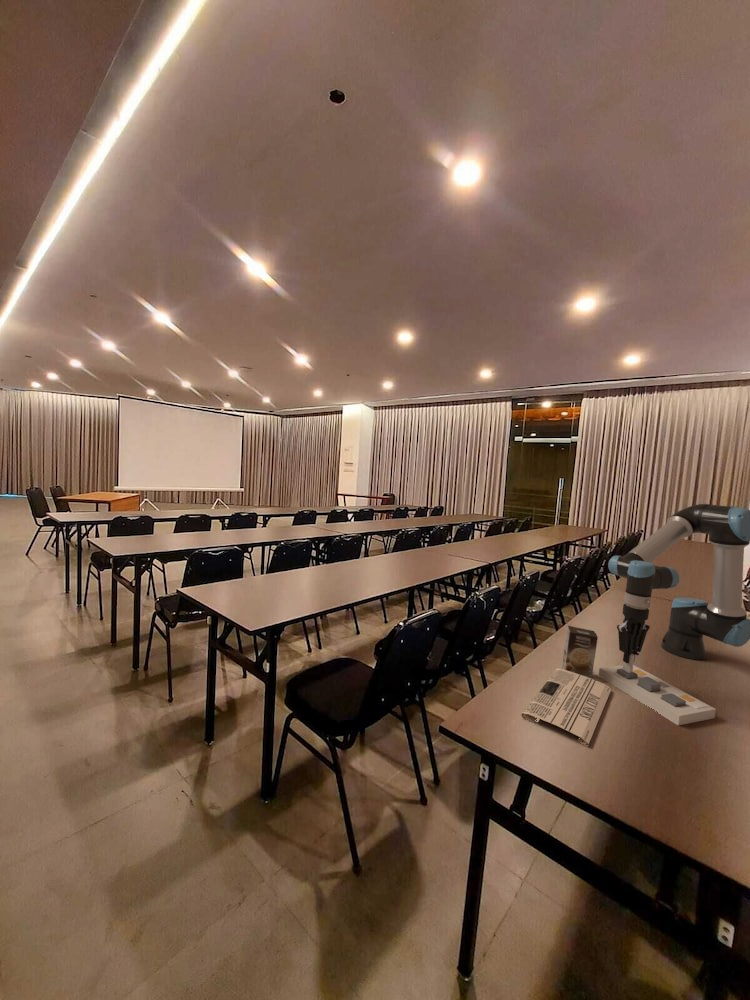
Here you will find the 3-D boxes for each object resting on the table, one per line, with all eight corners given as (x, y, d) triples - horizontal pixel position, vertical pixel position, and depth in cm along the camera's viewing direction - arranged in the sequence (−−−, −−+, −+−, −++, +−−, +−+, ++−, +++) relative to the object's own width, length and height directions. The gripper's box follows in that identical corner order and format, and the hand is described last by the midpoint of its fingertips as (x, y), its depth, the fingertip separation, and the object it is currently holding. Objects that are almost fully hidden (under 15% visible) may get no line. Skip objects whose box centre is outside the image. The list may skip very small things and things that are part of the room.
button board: (631, 671, 150) (632, 662, 150) (714, 718, 124) (716, 707, 123) (598, 675, 145) (599, 667, 145) (678, 725, 119) (679, 714, 118)
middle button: (646, 686, 136) (648, 676, 136) (659, 693, 132) (660, 683, 132) (637, 687, 135) (638, 678, 135) (649, 694, 131) (651, 685, 130)
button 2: (670, 702, 129) (671, 693, 129) (684, 711, 125) (686, 701, 124) (660, 704, 127) (661, 694, 127) (674, 713, 123) (676, 702, 123)
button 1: (625, 676, 144) (626, 667, 144) (636, 683, 140) (637, 674, 140) (615, 677, 143) (617, 669, 142) (627, 684, 138) (628, 675, 138)
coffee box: (563, 674, 144) (569, 631, 143) (561, 666, 150) (566, 625, 149) (592, 681, 141) (598, 637, 140) (589, 672, 147) (594, 630, 146)
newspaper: (555, 673, 146) (556, 666, 145) (616, 695, 134) (617, 687, 133) (520, 719, 117) (521, 710, 117) (595, 752, 105) (596, 742, 105)
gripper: (632, 610, 133) (623, 678, 135) (660, 609, 137) (650, 674, 139) (612, 602, 140) (603, 667, 142) (639, 601, 144) (631, 664, 146)
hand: (627, 671), depth 141 cm, fingers closed
